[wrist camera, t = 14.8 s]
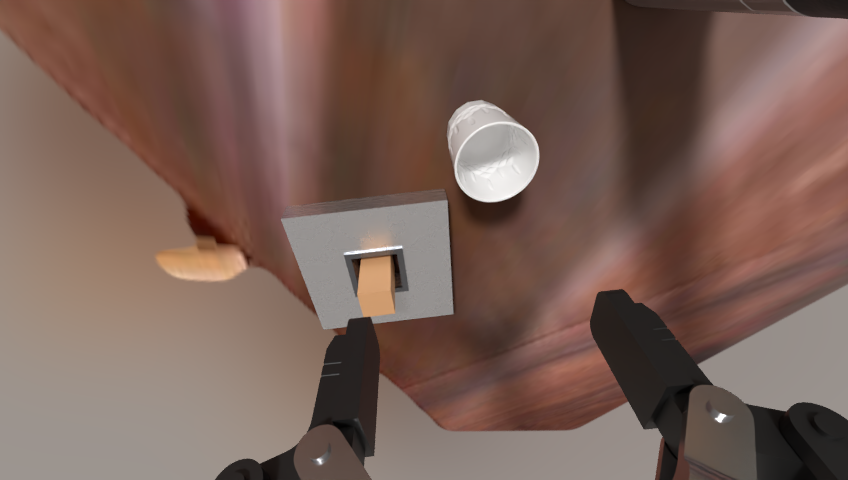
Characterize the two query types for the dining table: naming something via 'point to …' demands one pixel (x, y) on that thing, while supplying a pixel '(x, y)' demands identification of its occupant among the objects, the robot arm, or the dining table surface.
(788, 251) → the dining table surface
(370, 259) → the tan wooden block
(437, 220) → the slab with square hole
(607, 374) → the dining table surface
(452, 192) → the dining table surface
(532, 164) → the white cup
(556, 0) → the dining table surface
